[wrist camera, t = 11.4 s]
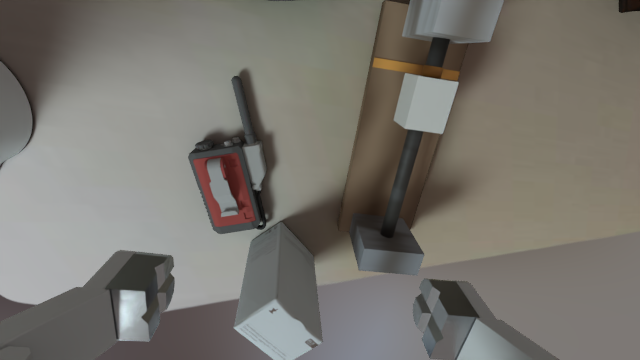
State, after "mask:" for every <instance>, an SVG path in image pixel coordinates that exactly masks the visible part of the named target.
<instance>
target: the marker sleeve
mask: <svg viewBox="0 0 640 360" xmlns="http://www.w3.org/2000/svg"><path fill="white" fill-rule="evenodd" d="M458 84H459V82H454V81H449V80H444V79H436V78H430V77H424V76H421V75H415V74H409V73H405V75H404V79H403V83H402V87H401V91H400V95H399V100H398V104H397V108H396V112H395V116H394V121H395V122H397V123H398V124H399V125H400V126H402V127H403V128H404V129H411V130H418V131H425V132H432V133H439V134H443V132H444V129H445V125H446V122H447V119H448V116H449V113H450V110H451V106H452V103H453V100H454V97H455V94H456V91H457V87H458Z"/></svg>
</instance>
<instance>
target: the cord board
mask: <svg viewBox="0 0 640 360" xmlns="http://www.w3.org/2000/svg"><path fill="white" fill-rule="evenodd" d="M503 2H504V0H410V4H409V5H408V4H403V3H397V2H392V1H387V0H386V1H384V2H383V3H382V8H381V13H380V17H379V22H378V27H377V32H376V37H375V42H374V47H373V52H372V57H371V62H370V67H369V72H368V77H367V82H366V87H365V92H364V96H363V101H362V106H361V111H360V116H359V121H358V126H357V131H356V136H355V141H354V146H353V151H352V156H351V161H350V166H349V171H348V176H347V180H346V185H345V190H344V195H343V200H342V205H341V210H340V215H339V220H338V230H339V231H347V232H349V233H350V237H351V241H352V245H353V249H354V253H355V257H356V260H357V264H358V268H359V270H362V271H373V272H384V273H396V274H408V275H417V274H418V271H419V269H420V266H421V263H422V260H423V257H424V253H423V251H422V250H421V248H420V246H419V245H418V243H417V241H416V240H415V238H414V236H413V235H412V233H411V231H410V229H411V225H412V222H413V219H414V216H415V213H416V209H417V206H418V203H419V200H420V197H421V193H422V190H423V187H424V184H425V181H426V177H427V174H428V171H429V168H430V165H431V162H432V158H433V155H434V152H435V149H436V146H437V142H438V139H439V136H440V134H439V133H432V132H425V131H418V130H411V129H404V128H403V127H402V126H400V125H399V124H398V123H397V122H395V121H394V116H395V112H396V108H397V104H398V100H399V95H400V91H401V87H402V83H403V79H404V75H405V73H409V74H415V75H421V76H424V77H430V78H436V79H444V80H449V81H454V82H457V80H458V77H459V73H460V69H461V66H462V62H463V59H464V56H465V53H466V50H467V46H468V43H478V42H490V40H491V37H492V34H493V31H494V28H495V25H496V22H497V19H498V16H499V13H500V11H501V8H502V5H503Z"/></svg>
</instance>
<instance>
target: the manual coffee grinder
mask: <svg viewBox="0 0 640 360" xmlns="http://www.w3.org/2000/svg"><path fill="white" fill-rule="evenodd" d="M631 11H640V0H619V12H621V13H623V12H631Z"/></svg>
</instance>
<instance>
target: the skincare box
mask: <svg viewBox="0 0 640 360" xmlns="http://www.w3.org/2000/svg"><path fill="white" fill-rule="evenodd" d="M234 329H236V330H237V331H238V332H239V333H241V334H242V335H243V336H245V337H246V338H247V339H248V340H250V341H251V342H252V343H253V344H255V345H256V346H257V347H258V348H260V349H261V350H262V351H264V352H265V353H267V355H269V356H270V357H271V358H273V359H274V360H294V359H296V358H297V357H299V356H301V355H302V354H304V353H306V352H307V351H309V350H311V349H312V348H314V347H316V346H317V345H319V344H321V343H322V342H323V340H322V330H321V322H320V312H319V303H318V294H317V284H316V275H315V266H314V256H313V255H312V254H311V253H310V252H309V251H308V249H307V248H306V247H305V246H304V245H303V244H302V243H301V242H300V241H299V240H298V239H297V237H296V236H295V235H294V234H293V233H292V232H291V231H290V230H289V229H288V228H287V227H286V226H285V225H284V224H283V222H280V223H278V224H277V225H275V226H274V227H272V228H271V229H269V230H268V231H266V232H264V233H263V234H261V235H260V236H258V237H257V238H255V239H253V240H252V241H251V243H250V248H249V253H248V258H247V263H246V268H245V273H244V279H243V284H242V289H241V294H240V300H239V305H238V310H237V315H236V320H235V325H234Z"/></svg>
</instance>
